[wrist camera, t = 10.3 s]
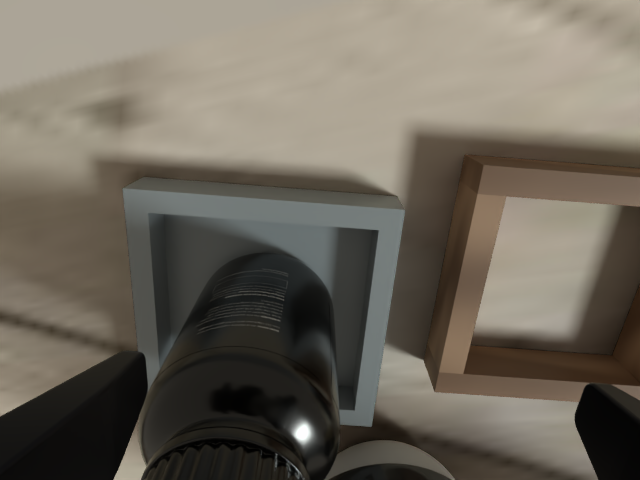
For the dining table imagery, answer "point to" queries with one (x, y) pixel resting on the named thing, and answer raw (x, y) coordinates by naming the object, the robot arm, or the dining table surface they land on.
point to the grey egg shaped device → (386, 463)
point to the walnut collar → (471, 272)
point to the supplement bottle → (248, 380)
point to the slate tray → (266, 237)
